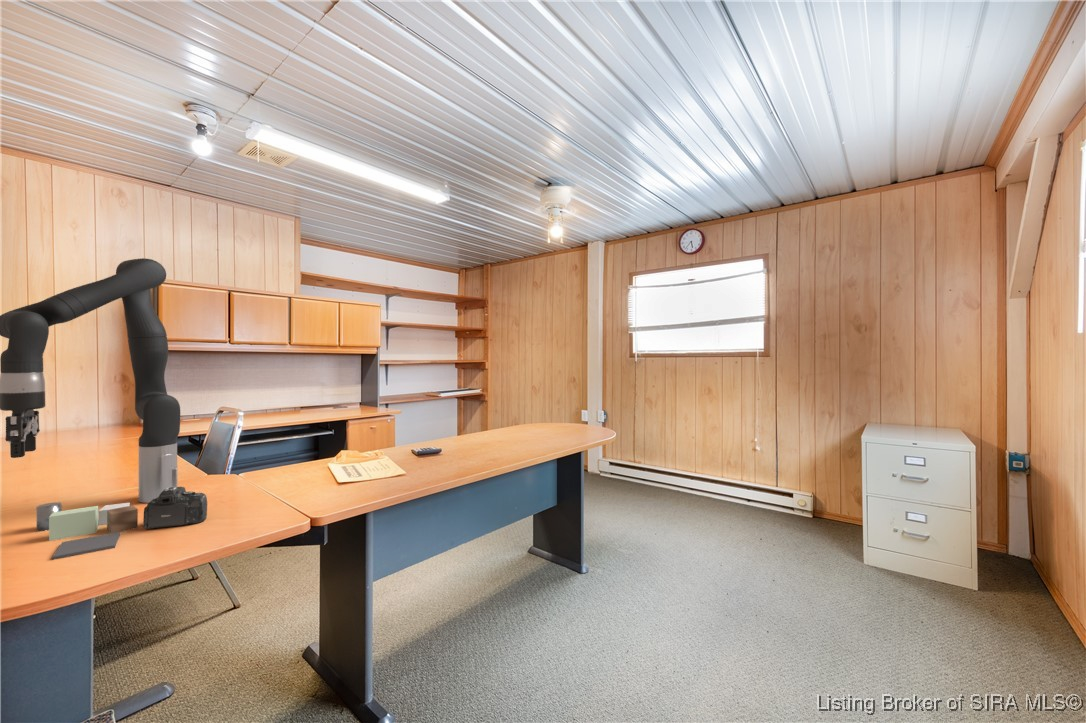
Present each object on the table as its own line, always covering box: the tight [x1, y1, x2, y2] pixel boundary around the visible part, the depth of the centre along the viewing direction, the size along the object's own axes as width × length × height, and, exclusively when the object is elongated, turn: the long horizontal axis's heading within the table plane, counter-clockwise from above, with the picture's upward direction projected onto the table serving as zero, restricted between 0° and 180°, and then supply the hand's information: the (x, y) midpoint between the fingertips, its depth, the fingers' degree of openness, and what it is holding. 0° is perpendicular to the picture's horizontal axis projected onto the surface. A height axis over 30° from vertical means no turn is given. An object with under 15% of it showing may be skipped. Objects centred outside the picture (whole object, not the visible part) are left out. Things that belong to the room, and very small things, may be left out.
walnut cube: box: [106, 504, 139, 534], centre depth 115 cm, size 5×5×5 cm
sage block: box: [48, 505, 99, 542], centre depth 111 cm, size 8×4×6 cm, turn 129°
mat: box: [51, 532, 121, 560], centre depth 105 cm, size 10×10×1 cm
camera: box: [142, 486, 208, 530], centre depth 119 cm, size 13×10×10 cm
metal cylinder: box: [36, 501, 63, 532], centre depth 115 cm, size 4×4×6 cm
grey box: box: [98, 502, 131, 526], centre depth 121 cm, size 5×5×4 cm
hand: (23, 454), depth 111 cm, fingers open, 8 cm apart
